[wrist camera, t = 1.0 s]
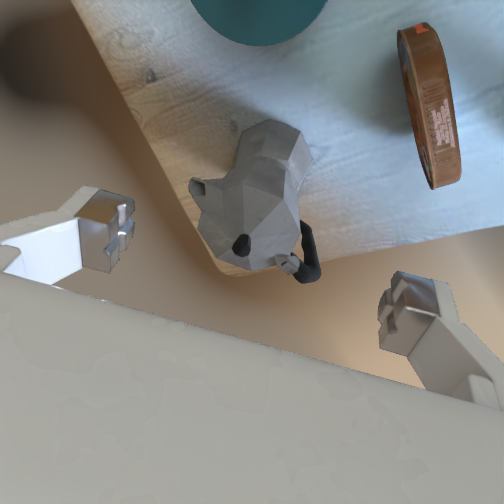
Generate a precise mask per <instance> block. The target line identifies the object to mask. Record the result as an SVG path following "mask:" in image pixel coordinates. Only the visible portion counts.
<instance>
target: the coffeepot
mask: <svg viewBox="0 0 504 504" xmlns="http://www.w3.org/2000/svg"><path fill="white" fill-rule="evenodd" d="M312 161H313V158H312V155H311V153H310V150H309V148H308V145H307V143H306V141H305V139H304V137H303V135H302V133H301V131H299V130H297V129H295V128H292V127H290V126H288V125H287V124H283V123H280V122H276V121H274V120H271V119H270V120H268V121H265V122H263V123H260V124H257V125H255V126H253V127H252V128H249V129H247V130H245V131H242V134H241V137H240V140H239V144H238V147H237V150H236V153H235V156H234V160H233V167H232V170H231V171H230V172H229V173H228V174H227V175H226V176H225V177H224V178H222V179H210V180H201V179H198V178H195V177H192V178H191V180H190V181H189V192H190V194H191V195H192V198H193V199H194V201H195V202H196V204H197V205H198V207H199V208H200V210H201V211H202V213H201V217H200V220H199V224H198V227H197V229H198V231H199V232H200V234H201V235H202V237H203V238H204V240H205V241H206V243H207V244H208V246H209V247H210V249H211V250H212V252H213V254H214V255H215V257H216V258H217V259H220V260H223V261H225V262H228V263H231V264H234V265H236V266H239V267H242V268H244V269H247V270H250V271H255V270H259V269H263V268H266V267H270V266H274V265H277V267H278V268H280V269H281V270H282V271H283V272H285V273H286V274H287V275H289V274H292V275H293V276H294V277H295V279H296V280H297V281H298V282H300V283H310V282H315V281H317V280H318V279H319V278H320V276H321V269H320V265H319V260H318V256H317V251H316V246H315V242H314V238H313V234H312V229H311V228H310V226H309V225H307V224H306V223H305V222H303V221H301V220H300V218H299V206H298V195H297V192H298V190H299V188H300V186H301V185H302V183H303V180H304V178H305V176H306V174H307V172H308V169H309V167H310V165H311V163H312ZM301 233H302V242H301V245H302V248H303V251H304V263H303V262H302V261H301V260H300V259H299V258H298V257H297V256H296V255H295V254H294V253H292V250H293V248H294V246H295V244H296V242H297V240H298V238H299V236H300V234H301Z"/></svg>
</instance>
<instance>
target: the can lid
mask: <svg viewBox="0 0 504 504" xmlns="http://www.w3.org/2000/svg"><path fill="white" fill-rule="evenodd" d="M327 1H328V0H191V2H192V4H193V5H194V7H195V8H196V10H197V12H198V13H199V14H200V15H201V17H202V18H203V19H204V20H205V21H206V22H207V23H208V24H209V25H210V26H211V27H212V28H213V29H214V30H216V31H217V32H218V33H220V34H221V35H223V36H225V37H226V38H228V39H230V40H233V41H235V42H237V43H241V44H245V45H251V46H268V45H274V44H278V43H281V42H284V41H286V40H288V39H290V38H292V37H294V36H296V35H297V34H299V33H300V32H302V31H303V30H304V29H305V28H307V27H308V26H309V25H310V24H311V23H312V22H313V21H314V20H315V18H316V17H317V16H318V15H319V14H320V12H321V11H322V9H323V8H324V6H325V5H326V3H327Z"/></svg>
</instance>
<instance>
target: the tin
mask: <svg viewBox="0 0 504 504" xmlns="http://www.w3.org/2000/svg"><path fill="white" fill-rule="evenodd" d="M397 48H398V55H399V60H400V66H401V71H402V77H403V81H404V86H405V92H406V97H407V102H408V107H409V112H410V117H411V122H412V127H413V132H414V137H415V141H416V145H417V150H418V154H419V158H420V161H421V164H422V167H423V171H424V173H425V176H426V179H427V182H428V184H429V187H430V188H431V190H434V189H435V188H438V187H442V186H446V185H449V184H452V183H455V182H457V181H459V180H460V177H461V157H460V149H459V142H458V134H457V126H456V119H455V112H454V106H453V99H452V93H451V86H450V80H449V74H448V69H447V64H446V60H445V55H444V52H443V48H442V45H441V42H440V40H439V37H438V35H437V33H436V31H435V30H434V29H433V28H432V27H431V26H430V25H429V24H428V23H426V22H423V23H420V24H417V25H415V26H412V27H410V28H407V29H405V30H398V32H397Z"/></svg>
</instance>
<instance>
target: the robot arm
mask: <svg viewBox="0 0 504 504" xmlns="http://www.w3.org/2000/svg"><path fill="white" fill-rule="evenodd" d="M134 211H135V206H134V200H133V199H132V198H129V197H126V196H123V195H119V194H116V193H112V192H109V191H106V190H101V189H98V188H95V187H91V186H88V185H85V186H82V187H81V188H80V189H79V190H77V191H76V192H75V193H74V194H73V195H72V196H71V197H70V198H69V199H68V200H67V201H66V202H65V203H64V204H63V205H62V206H61V207H60V208H59V209H58V210H57V211H55V212H54V211H47V212H43V213H40V214H37V215H33V216H29V217H26V218H22V219H18V220H15V221H11V222H7V223H4V224H1V225H0V504H504V364H503V363H502V362H501V361H500V360H499V358H498V357H497V356H496V355H494V353H493V352H492V351H491V350H490V349H489V348H488V347H487V346H486V345H485V344H484V343H483V342H482V341H481V340H480V339H479V338H478V337H477V336H476V335H475V334H474V333H473V332H472V331H471V330H470V329H469V327H468V326H467V325H466V324H463V323H460V320H459V316H458V312H457V309H456V305H455V301H454V298H453V294H452V290H451V287H450V285H449V284H448V283H446V282H442V281H438V280H434V279H427V278H423V277H420V276H416V275H412V274H408V273H405V272H401V271H397V272H396V273H395V274H394V275H393V277H392V279H391V288H389V289H387V290H385V292H384V293H383V295H382V297H381V299H380V303H379V306H378V321H379V322H380V323H381V325H382V326H381V328H380V329H379V347H380V349H383V350H386V351H390V352H393V353H396V354H400V355H403V356H407V359H408V361H409V362H410V364H411V365H412V367H413V369H414V370H415V372H416V373H417V375H418V376H419V378H420V380H421V381H422V383H423V385H424V386H425V388H426V390H425V389H421V388H418V387H414V386H411V385H407V384H403V383H400V382H396V381H392V380H389V379H385V378H382V377H378V376H375V375H371V374H368V373H364V372H360V371H356V370H353V369H350V368H346V367H342V366H339V365H335V364H332V363H328V362H325V361H321V360H318V359H314V358H310V357H307V356H303V355H300V354H296V353H292V352H289V351H285V350H282V349H278V348H275V347H271V346H267V345H264V344H260V343H257V342H253V341H249V340H246V339H242V338H239V337H235V336H231V335H228V334H224V333H221V332H217V331H213V330H210V329H206V328H203V327H199V326H196V325H192V324H188V323H185V322H181V321H178V320H174V319H171V318H167V317H163V316H159V315H156V314H153V313H149V312H145V311H142V310H138V309H135V308H131V307H127V306H124V305H120V304H117V303H113V302H110V301H106V300H102V299H99V298H95V297H92V296H88V295H85V294H81V293H78V292H74V291H70V290H67V289H63V288H60V287H56V286H52V285H51V284H53V283H55V282H57V281H59V280H60V279H62V278H64V277H66V276H68V275H70V274H72V273H74V272H76V271H78V270H80V269H82V267H85V268H90V269H93V270H97V271H101V272H105V273H109V274H110V272H111V271H112V270H113V268H114V267H115V265H116V264H117V262H118V261H119V253H121V252H124V251H126V250H127V248H128V247H129V245H130V243H131V240H132V238H133V234H134V224H135V223H134V221H133V219H132V218H131V215H132V213H133V212H134Z"/></svg>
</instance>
